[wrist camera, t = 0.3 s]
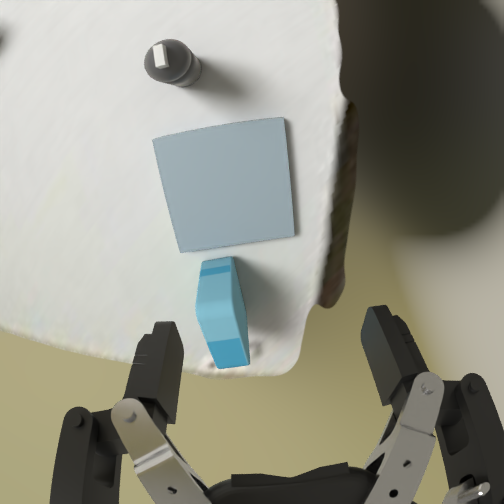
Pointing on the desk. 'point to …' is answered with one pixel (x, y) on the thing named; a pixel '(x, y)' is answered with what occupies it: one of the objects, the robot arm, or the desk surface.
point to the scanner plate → (227, 183)
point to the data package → (223, 313)
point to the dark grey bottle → (172, 63)
